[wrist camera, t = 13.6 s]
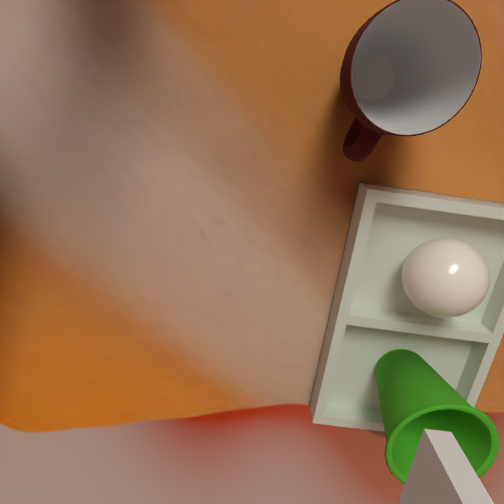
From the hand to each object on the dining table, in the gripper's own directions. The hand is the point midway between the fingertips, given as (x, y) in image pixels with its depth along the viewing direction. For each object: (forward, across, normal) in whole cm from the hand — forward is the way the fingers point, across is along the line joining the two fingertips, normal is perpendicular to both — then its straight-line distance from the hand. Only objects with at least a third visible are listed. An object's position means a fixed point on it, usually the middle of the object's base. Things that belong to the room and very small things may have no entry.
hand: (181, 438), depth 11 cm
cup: (+28, +19, -15) cm, 37 cm away
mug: (+29, +10, +11) cm, 32 cm away
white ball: (+28, +19, -3) cm, 34 cm away
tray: (+29, +19, -9) cm, 36 cm away
